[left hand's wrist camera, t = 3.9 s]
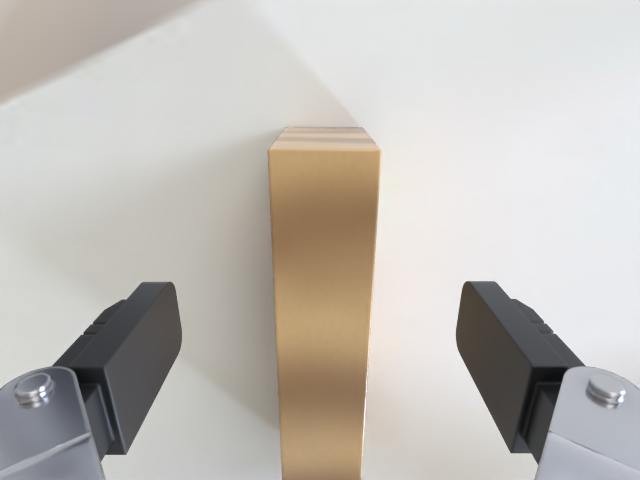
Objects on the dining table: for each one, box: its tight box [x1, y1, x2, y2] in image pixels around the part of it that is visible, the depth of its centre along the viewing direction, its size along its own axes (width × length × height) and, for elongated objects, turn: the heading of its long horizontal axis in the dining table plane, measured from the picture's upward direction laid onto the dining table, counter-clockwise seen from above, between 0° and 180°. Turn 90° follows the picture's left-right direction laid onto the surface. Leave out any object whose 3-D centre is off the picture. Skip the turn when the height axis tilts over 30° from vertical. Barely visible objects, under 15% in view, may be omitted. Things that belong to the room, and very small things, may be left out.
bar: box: [268, 127, 381, 480], centre depth 24 cm, size 25×4×8 cm, turn 0°
